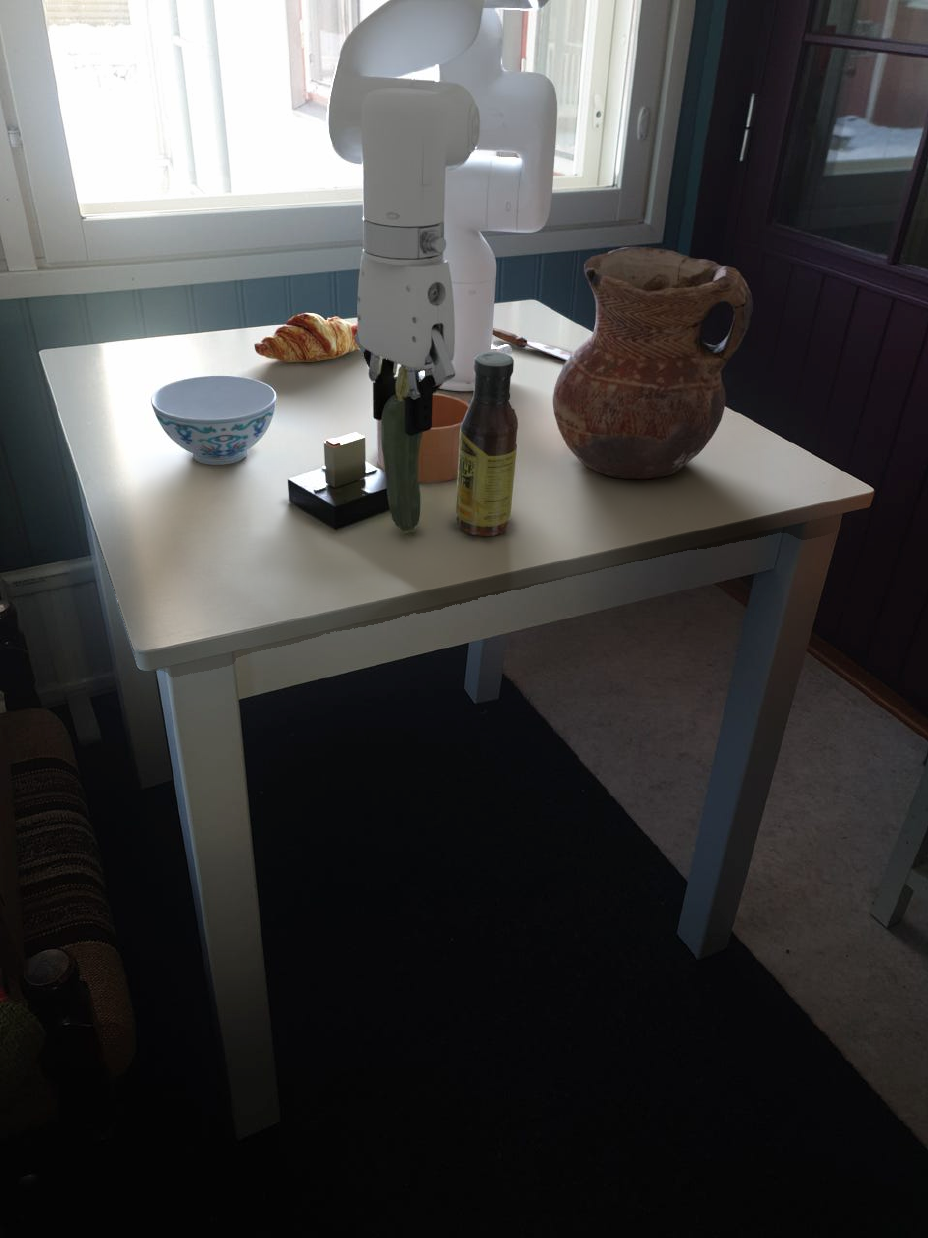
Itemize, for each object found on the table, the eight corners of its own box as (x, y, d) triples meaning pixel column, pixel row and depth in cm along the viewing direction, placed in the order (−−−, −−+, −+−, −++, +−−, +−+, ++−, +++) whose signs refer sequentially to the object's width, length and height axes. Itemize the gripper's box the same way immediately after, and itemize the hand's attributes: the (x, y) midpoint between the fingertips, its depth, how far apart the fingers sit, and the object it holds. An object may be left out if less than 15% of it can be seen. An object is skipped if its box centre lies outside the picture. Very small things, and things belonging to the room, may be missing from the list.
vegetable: (415, 547, 105) (418, 369, 94) (377, 541, 106) (375, 364, 95) (424, 528, 109) (428, 354, 98) (387, 523, 109) (387, 350, 98)
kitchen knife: (600, 359, 158) (582, 362, 155) (598, 369, 159) (580, 372, 156) (507, 324, 170) (488, 325, 167) (505, 333, 171) (486, 335, 167)
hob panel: (356, 479, 119) (355, 455, 117) (403, 504, 113) (403, 480, 112) (288, 502, 113) (287, 477, 111) (335, 530, 107) (334, 505, 106)
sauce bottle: (453, 513, 112) (460, 345, 101) (506, 513, 113) (519, 346, 102) (457, 541, 107) (465, 366, 96) (513, 541, 107) (527, 367, 96)
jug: (567, 496, 117) (591, 286, 103) (530, 429, 134) (547, 241, 120) (739, 490, 120) (785, 286, 107) (682, 425, 138) (714, 242, 124)
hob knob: (356, 471, 113) (355, 430, 110) (366, 477, 112) (365, 435, 109) (325, 482, 111) (323, 440, 108) (334, 488, 109) (333, 445, 107)
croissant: (364, 359, 166) (353, 312, 164) (392, 346, 157) (381, 297, 156) (250, 377, 155) (238, 327, 153) (274, 365, 146) (260, 311, 145)
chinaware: (178, 428, 129) (171, 372, 125) (289, 434, 129) (286, 378, 125) (144, 476, 117) (134, 416, 113) (267, 482, 117) (262, 422, 112)
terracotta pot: (428, 435, 131) (429, 385, 127) (491, 465, 124) (495, 413, 120) (357, 458, 124) (356, 406, 120) (420, 491, 116) (421, 437, 113)
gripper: (495, 252, 87) (484, 441, 97) (377, 218, 97) (378, 393, 107) (434, 264, 83) (429, 460, 93) (316, 227, 93) (324, 408, 103)
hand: (402, 422), depth 100 cm, fingers closed on vegetable, 4 cm apart
